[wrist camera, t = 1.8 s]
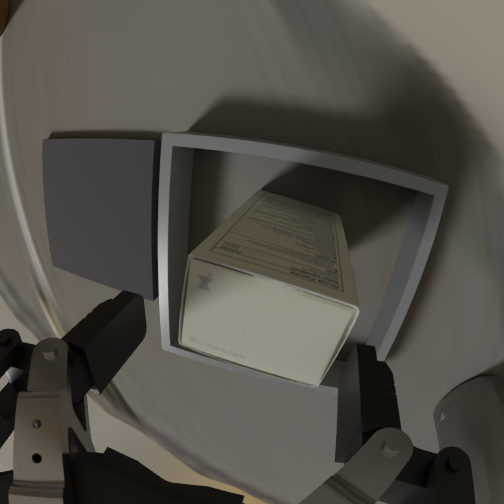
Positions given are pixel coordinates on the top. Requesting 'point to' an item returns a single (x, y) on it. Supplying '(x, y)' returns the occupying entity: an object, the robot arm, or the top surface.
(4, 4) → the plant pot
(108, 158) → the place mat
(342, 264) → the skincare box
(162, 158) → the parts bin
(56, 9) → the top surface
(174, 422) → the top surface
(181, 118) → the top surface
